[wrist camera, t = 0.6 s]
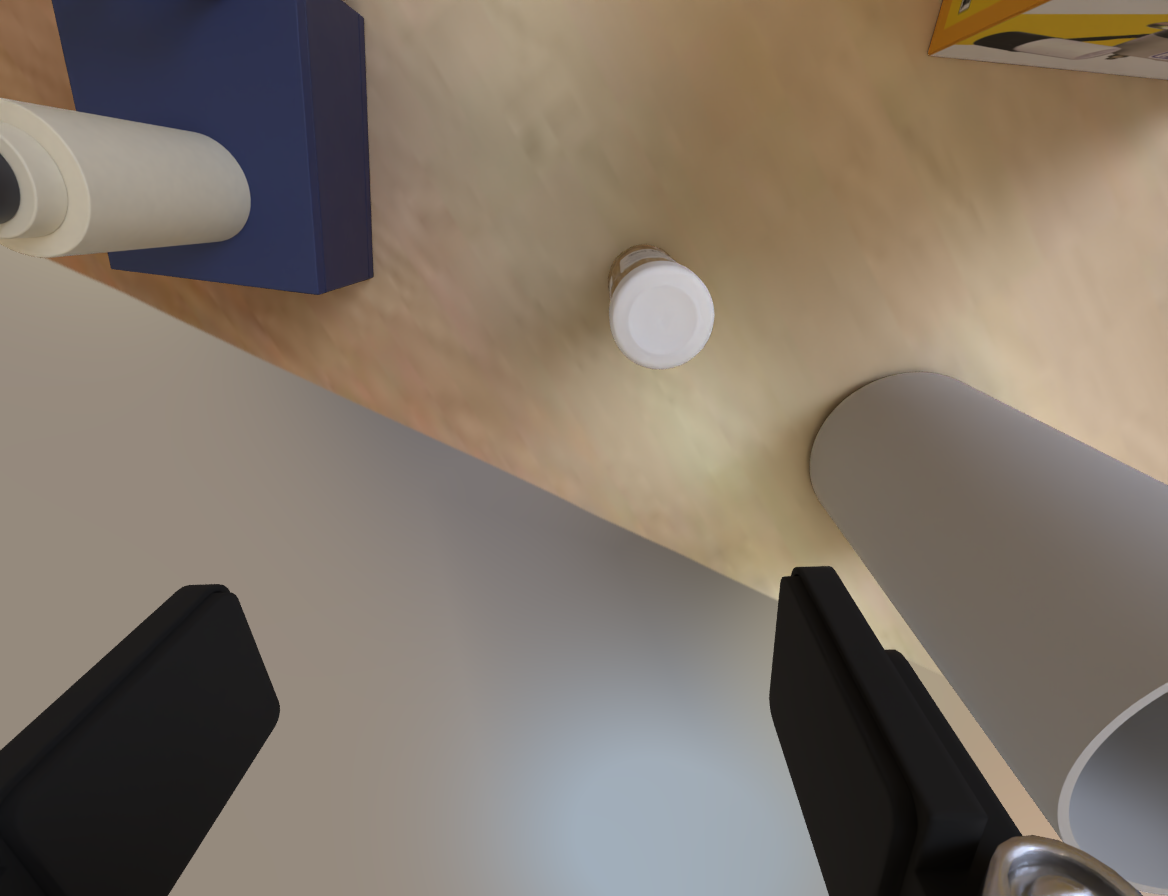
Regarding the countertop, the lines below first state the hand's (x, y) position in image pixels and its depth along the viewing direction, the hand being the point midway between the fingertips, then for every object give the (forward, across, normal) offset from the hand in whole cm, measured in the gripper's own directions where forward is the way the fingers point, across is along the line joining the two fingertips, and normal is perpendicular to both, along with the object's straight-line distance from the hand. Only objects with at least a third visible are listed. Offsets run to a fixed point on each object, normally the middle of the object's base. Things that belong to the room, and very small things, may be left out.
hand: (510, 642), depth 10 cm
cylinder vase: (+30, -22, +11) cm, 39 cm away
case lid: (+23, +18, -12) cm, 31 cm away
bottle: (+22, +18, -9) cm, 30 cm away
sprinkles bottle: (+30, -4, -2) cm, 31 cm away
